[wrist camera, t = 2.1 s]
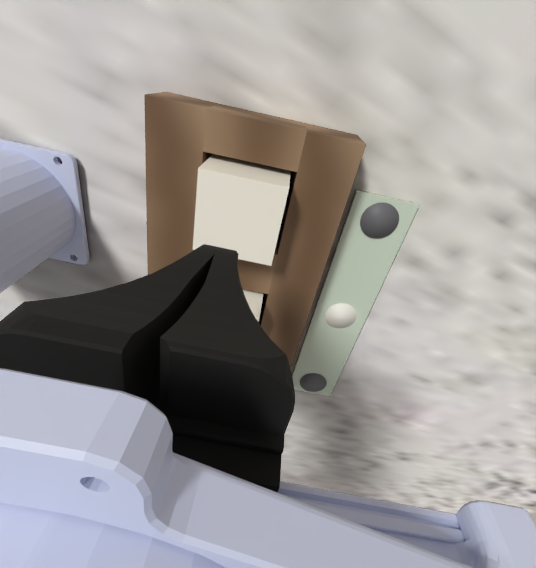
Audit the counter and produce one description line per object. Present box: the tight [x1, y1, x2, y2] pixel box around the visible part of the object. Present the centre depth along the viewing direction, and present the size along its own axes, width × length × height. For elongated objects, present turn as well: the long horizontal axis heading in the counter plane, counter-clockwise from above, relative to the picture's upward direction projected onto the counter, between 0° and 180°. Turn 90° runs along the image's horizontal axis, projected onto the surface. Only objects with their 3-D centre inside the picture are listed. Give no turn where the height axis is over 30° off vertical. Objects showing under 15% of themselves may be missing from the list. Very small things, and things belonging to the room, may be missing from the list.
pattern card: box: [292, 190, 419, 397], centre depth 25 cm, size 4×19×1 cm, turn 169°
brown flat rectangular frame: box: [145, 92, 366, 369], centre depth 24 cm, size 11×25×3 cm, turn 169°
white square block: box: [193, 154, 291, 266], centre depth 18 cm, size 4×4×3 cm
